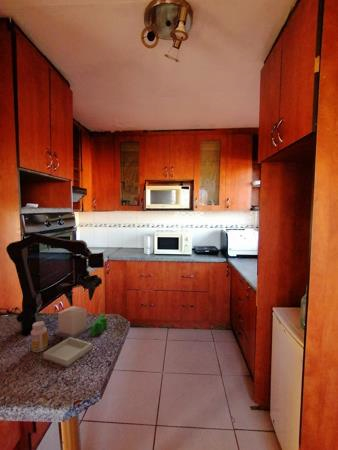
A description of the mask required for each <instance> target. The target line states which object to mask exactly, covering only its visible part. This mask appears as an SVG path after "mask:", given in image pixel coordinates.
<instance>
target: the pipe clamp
mask: <svg viewBox="0 0 338 450" xmlns="http://www.w3.org/2000/svg"><path fill="white" fill-rule="evenodd" d="M104 329H108V317H105V314H101V315H100V316H99V317H98V318H97V319H96V320H95V321H94V322H93V323H92V324H91V329H90V337H92V338H93V337H95V336H96V334H104Z"/></svg>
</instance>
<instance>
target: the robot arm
mask: <svg viewBox="0 0 338 450" xmlns="http://www.w3.org/2000/svg"><path fill="white" fill-rule="evenodd" d="M35 244H41V245H45V246H50V247H54V248H59V249H63V250H66V251H67V252H70V253H72V254H71V255H70V256H69V257H68V260H70V261H71V260H72V261H73V262H72V265H73V270H72V271H71V273H72V274H73V279H72V281H71V282H72V283H71V284H70V283H69V282H64V283H59V284H58V285H57V292H59V293H61V294H64V296H65V298H66V299H67V302H68V303H69V305H70V307H72V306H74V305H73V304H74V301H73V294H74V292H73V290H74V289H75V288H80V287H82V288H83V289H84V290H87V291H88V299H89V301H92V299H93V297H94V294H95V292H96V289H97V288H98V287H100V285H102V284H103V280H102V278H101V277H100V276H98V275H97V274H94V275H90V271H89V270H88V267H89V268H90V269H101V268H102V269H104V268H105V258H104V252H93V253H92V251H91V250H90V249H89V248H88V243H87V242H86V241H85V240H83V239H65V238H60V237H55V236H52V235H46V234H44V233H40V232H34V233H32V234H30V235H29V236H26V237H24V238H22V239H21V240H17V241H14V242H13V241H12V242H10V243H8V244H7V246H6V253H7V255H8V257H9V259H10V261H11V262H12V263H13V264H14V267H15V270H16V275H17V278H18V282H19V286H20V290H21V293H22V300H21V312H20V313H19V314H18V315H17V316H16V318H15V319H16V321H17V322H18V323H19V328H20V330H17V331H16V334H18V335H19V334H20V335H23V336H25V337H26V336H28V335H31V331H32V330H33V324H34V323H36V322H37V317H36V314H38V312H39V310H40V309H41V307H42V304H43V302H44V301H43V300H42V294H41V293H38V294H37V292H36V291H35V288H34V284H33V283H34V282H33V281H32V280H33V279H32V276H31V271H30V268H29V265H28V254H29V252H28V248H30V247H32V246H33V245H35Z"/></svg>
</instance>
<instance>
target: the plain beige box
mask: <svg viewBox="0 0 338 450" xmlns="http://www.w3.org/2000/svg"><path fill="white" fill-rule="evenodd" d="M87 319H88V318H87V308H84V307H81V306H80V307H79V306H75V305H73V306H70V307H68V308H65V309H63V310H61V311H58V312H57V321H58V323H57V324H58V329H57V330H54V331H53V332H52V333H53V335H54V336H58V337H60V338H64V339H67V338H69V337H72V338H75V339H77V338H78V337H80V336H81V335H83V334H85V333H86V332H88V331H91V326H92V324H91V325H89V324H88V323H87Z"/></svg>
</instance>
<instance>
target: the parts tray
mask: <svg viewBox="0 0 338 450" xmlns="http://www.w3.org/2000/svg"><path fill="white" fill-rule="evenodd" d="M92 350H94V349H93V343H92V342H88V341H85V340H81V339H79V338H78V339H77V338H72V337H69V338H65V339H64V340H63V341H61V342H59V343H57V344H55V345H54V346H52V347H50V348H49V349H47V350H44V352H43V353H42V354H43V360H46V361H49V362H52V363H54V364H57V365H60V366H63V367H66V368H68V367H70V366H71V365H72V364H74V363H75V362H76V361H78V360H80V359H81V358H83V357H84V356H85V355H86V354H88V353H89V352H90V351H92Z"/></svg>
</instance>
